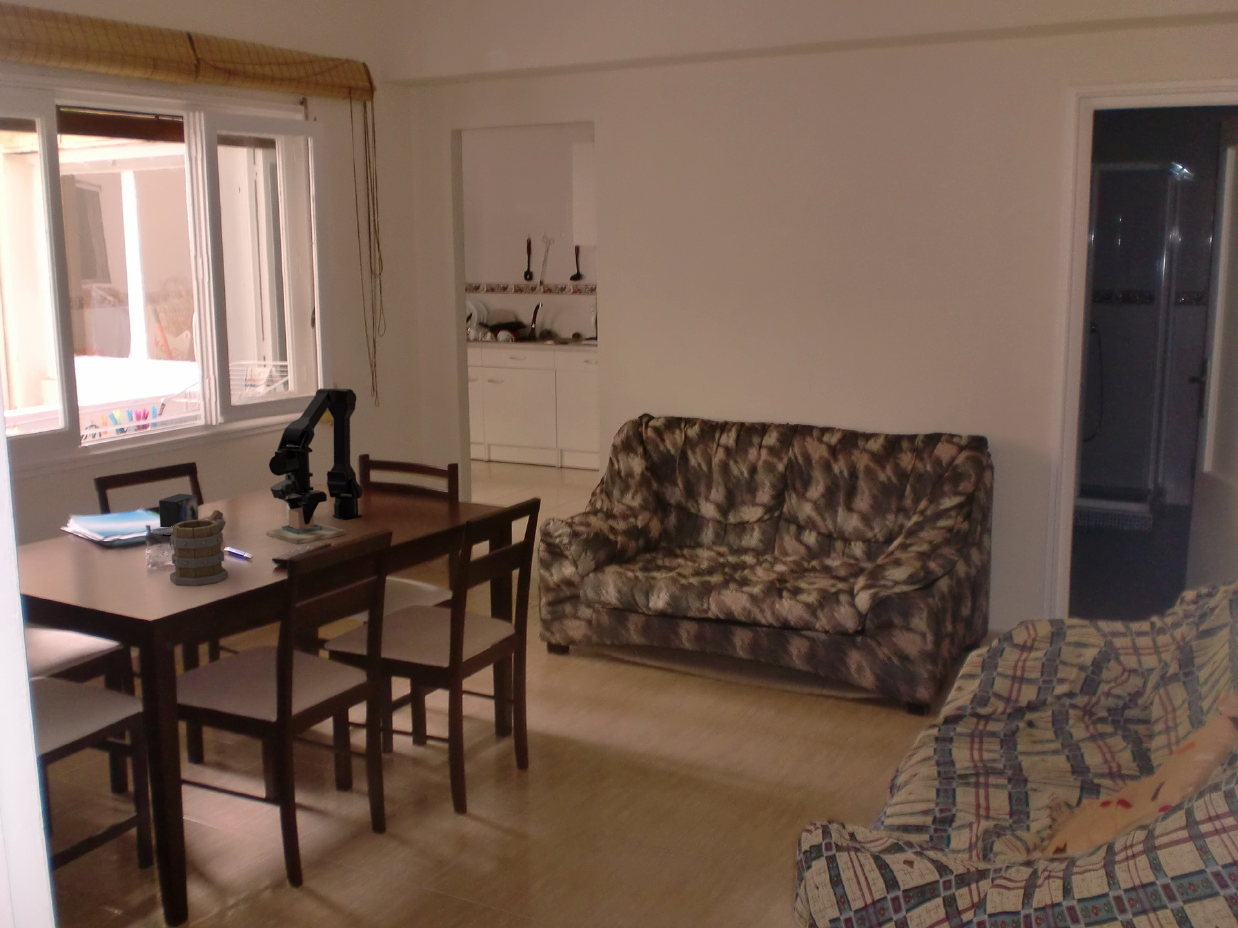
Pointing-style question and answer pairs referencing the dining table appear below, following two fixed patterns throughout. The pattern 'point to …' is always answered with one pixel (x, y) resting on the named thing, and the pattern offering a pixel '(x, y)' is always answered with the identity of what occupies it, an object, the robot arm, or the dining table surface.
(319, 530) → the base plate
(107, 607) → the dining table surface
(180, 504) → the small box
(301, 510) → the terracotta block
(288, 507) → the cream block
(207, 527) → the tankard
